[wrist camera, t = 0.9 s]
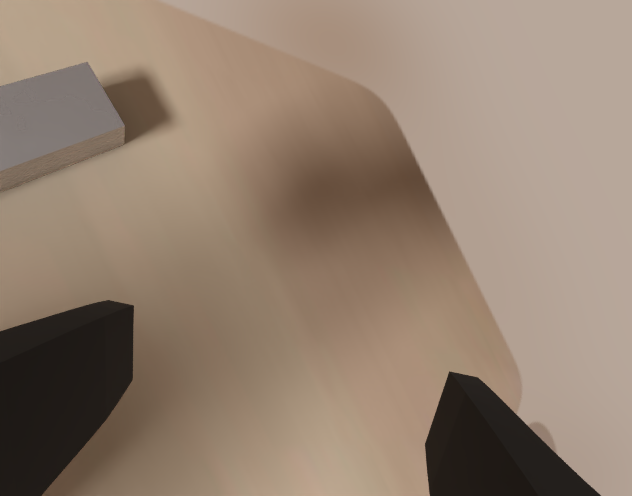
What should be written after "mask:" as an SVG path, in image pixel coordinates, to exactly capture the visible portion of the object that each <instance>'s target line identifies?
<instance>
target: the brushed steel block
mask: <svg viewBox="0 0 632 496" xmlns="http://www.w3.org/2000/svg"><path fill="white" fill-rule="evenodd" d="M124 138H125V125H124V123H123V121H122V120H121V118H120V116H119V115H118V113H117V111H116V110H115V108H114V106H113V104H112V103H111V101H110V99H109V98H108V96H107V94H106V93H105V91H104V89H103V87H102V86H101V84H100V82H99V81H98V79H97V77H96V76H95V74H94V72H93V70H92V69H91V67H90V65H89V64H88V62H85V63H82V64H78V65H75V66H71V67H68V68H64V69H60V70H57V71H53V72H50V73H46V74H42V75H39V76H35V77H32V78H28V79H25V80H21V81H17V82H14V83H10V84H7V85H3V86H0V192H3V191H5V190H8V189H11V188H13V187H16V186H18V185H21V184H24V183H26V182H29V181H31V180H34V179H37V178H39V177H42V176H44V175H47V174H50V173H52V172H55V171H57V170H60V169H63V168H65V167H68V166H70V165H73V164H76V163H78V162H81V161H83V160H86V159H88V158H91V157H94V156H96V155H99V154H101V153H104V152H107V151H109V150H112V149H114V148H117V147H120V146H122V145H124Z"/></svg>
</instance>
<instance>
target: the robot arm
mask: <svg viewBox="0 0 632 496" xmlns="http://www.w3.org/2000/svg"><path fill="white" fill-rule="evenodd" d="M133 317H134V305H129V304H124V303H119V302H114V301H110V300H107V301H102V302H97V303H93V304H90V305H86V306H82V307H79V308H75V309H72V310H69V311H65V312H62V313H59V314H55V315H52V316H49V317H46V318H43V319H39V320H36V321H33V322H30V323H26V324H23V325H20V326H16V327H13V328H10V329H7V330H3V331H0V496H41V495H42V494H43V493H44V492H45V491H46V489H47V488H48V487H49V486H50V485H51V484H52V482H53V481H54V480H55V479H56V478H57V477H58V475H59V474H60V473H61V472H62V471H63V470H64V469H65V467H66V466H67V465H68V464H69V463H70V462H71V460H72V459H73V458H74V457H75V456H76V455H77V454H78V452H79V451H80V450H81V449H82V448H83V446H84V445H85V444H86V443H87V442H88V441H89V439H90V438H91V437H92V436H93V435H94V434H95V432H96V431H97V430H98V429H99V428H100V426H101V425H102V424H103V423H104V422H105V420H106V419H107V418H108V416H109V415H110V413H111V412H112V410H113V409H114V407H115V406H116V405H117V403H118V402H119V400H120V399H121V397H122V395H123V394H124V392H125V391H126V389H127V388H128V386H129V385H130V383H131V381H132V379H133ZM425 449H426V461H427V473H428V483H429V492H430V496H601V495H600V494H598V493H597V492H596V491H595V490H594V489H593V488H592V487H591V486H590V485H588V484H587V483H586V482H585V481H584V480H583V479H582V478H581V477H580V476H579V475H577V473H576V472H574V470H572V469H571V468H570V467H569V466H568V465H567V464H566V463H565V462H564V461H563V460H562V459H561V458H560V457H559V456H558V455H557V454H556V453H555V452H554V451H553V450H552V449H551V448H550V447H549V446H548V445H547V444H545V443H544V442H543V441H542V440H541V439H540V438H539V437H538V436H537V435H536V434H535V433H534V432H533V431H532V430H531V429H530V428H529V427H528V426H527V425H526V424H525V423H524V422H523V421H522V420H521V419H520V418H519V417H518V416H517V415H516V414H515V413H514V412H513V411H512V410H511V409H510V408H509V407H508V406H507V405H506V404H505V403H504V402H503V401H502V400H501V399H500V398H499V397H498V396H497V395H496V394H495V393H494V392H493V391H492V390H491V389H490V388H489V387H488V386H487V385H486V384H485V383H483V382H482V381H481V380H480V379H479V378H478V377H473V376H468V375H463V374H459V373H454V372H449V374H448V377H447V380H446V383H445V386H444V389H443V392H442V395H441V398H440V401H439V404H438V407H437V410H436V413H435V416H434V419H433V422H432V425H431V428H430V431H429V434H428V437H427V440H426V443H425Z"/></svg>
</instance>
